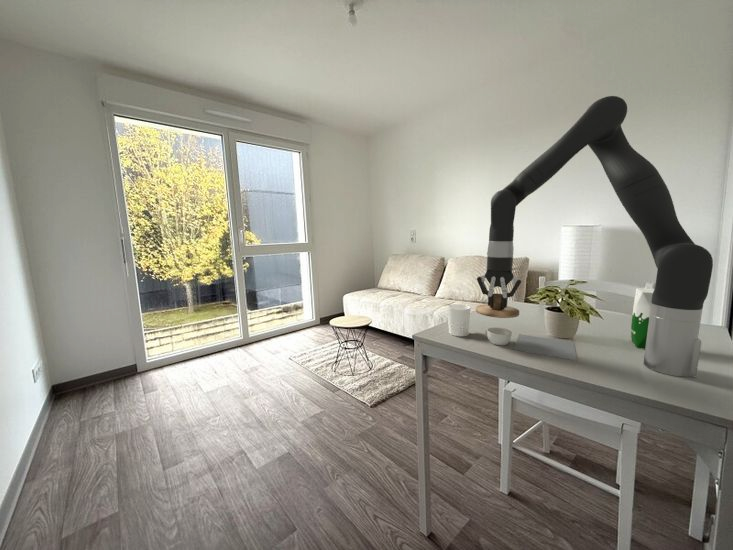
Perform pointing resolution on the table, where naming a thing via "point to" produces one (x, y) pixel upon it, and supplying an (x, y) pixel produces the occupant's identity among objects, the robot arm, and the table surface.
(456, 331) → the white cup
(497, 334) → the white bowl
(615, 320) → the table surface
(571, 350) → the mat
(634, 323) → the milk carton
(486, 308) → the lid
